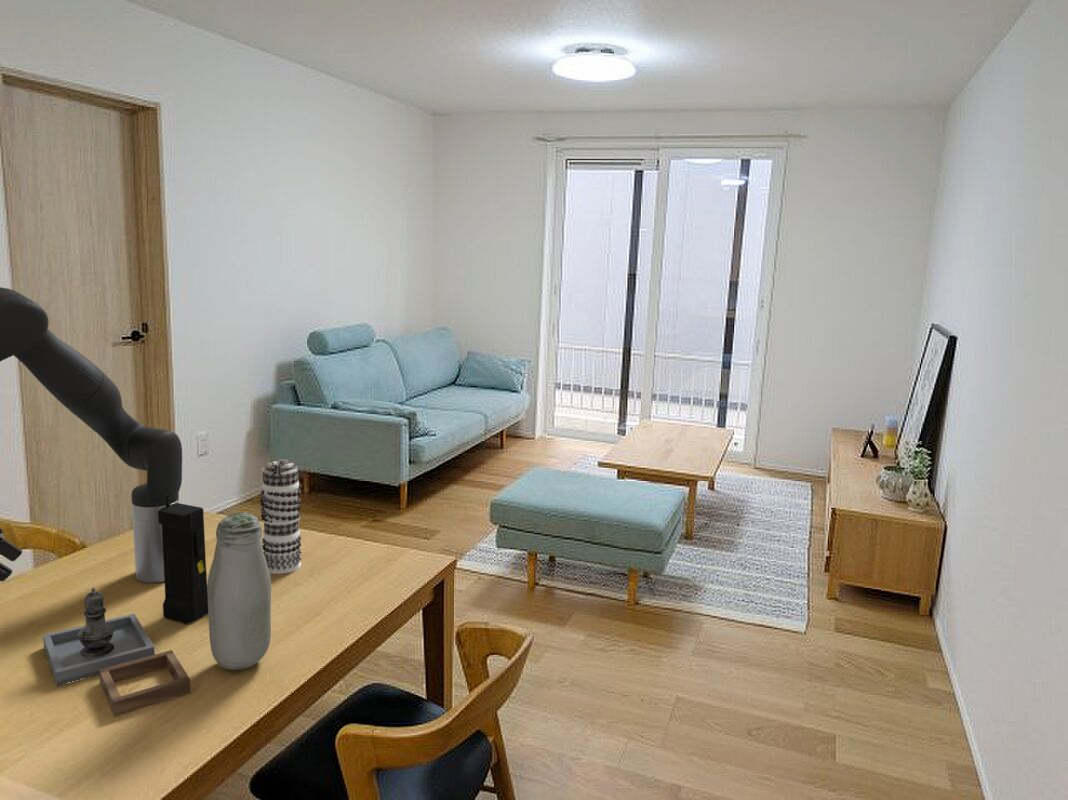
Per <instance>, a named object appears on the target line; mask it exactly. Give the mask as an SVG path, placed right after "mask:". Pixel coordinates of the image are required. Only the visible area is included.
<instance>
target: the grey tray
mask: <svg viewBox="0 0 1068 800" xmlns="http://www.w3.org/2000/svg"><path fill="white" fill-rule="evenodd" d="M105 621H106V624H110V625H112V626H114V627H115V631H114V632H113V636H112V639H111V640H110V641H109V642H110V643H112V644H113V645H114V649H113V650H112V651H111V652H110V653H108V654H106V655H103V656H100V657H94V658H87V657H83V656H82V655H81V654H80V652H81V650H82V649H83V648H84V647H85V646H83V645H82V643H81V642H80V639H79V638H78V637H77V634H78V632H79V631H80V630H82V629H83V628H85V626H86V624H83V625H81V626H80V625H79V626H75V627H71V628H68V629H67V628H66V629H63V630H58V631H54V632H50V633H46V634H43V635H42V639H43V648H45V649H44V651H46V652H45V654H47V655H46V658H47V657H48V658H47V661H48V660H49V661H48V664H49V663H50V664H49V666H51V667H50V669H52V670H51V672H53V673H52V675H53V678H54V682H55V684H56V687H60V686H59V685H61V686H63V685H62V684H64V685H67V684H66V683H68V682H71V683H73V682H72V681H75V682H77V681H76V680H79V681H81V680H80V679H82V678H83V679H82V680H85V679H84V678H86V679H89V678H88V677H90V678H93V677H96V676H95V675H97V676H99V670H100V669H103V668H107V667H111V666H114V665H118V664H122V663H126V662H129V661H133V660H137V659H140V658H144V657H148V656H151V655H155V646H154V644H153V642H152V640H151V639H150V637H149V636H148V634H147V632H146V630H145V628H144V627H143V626H142V624H141V622H140V620H139V618H138V617H137V615H136V614H135V613H131V614H126V615H123V616H117V617H114V618H109V619H105ZM92 676H93V677H92ZM68 684H69V683H68Z"/></svg>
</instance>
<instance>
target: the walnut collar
mask: <svg viewBox="0 0 1068 800" xmlns="http://www.w3.org/2000/svg"><path fill="white" fill-rule="evenodd" d="M164 669H167V670H168V672H169V674H170V675H171V677H172V679H173V680H171V681H168V682H163V683H162V684H158V685H155V686H151V687H148V688H145V689H141V690H138V691H134V692H131V693H127V694H125V695H120V692H119V691H118V688H117V686H116V684H115V682H116V683H119V682H121V681H122V680H123V681H125V680H129V679H133V678H135V677H136V678H137V677H140V676H143V675H147V674H150V672H151V673H154V672H158V671H160V670H161V671H162V670H164ZM98 677H99V684H100V687H101V686H102V687H101V688H102V691H103V693H105V694H104V696H105V698H106V700H107V703H108V705H109V708H110V710H111V712H112V713H113V717H114V718H116V717H118V716H121V714H122V715H125V714H128V712H129V713H131V712H134V711H139V710H140V709H145V708H147V707H151V706H154V705H158V704H160V703H164V702H167V701H170V700H174V699H177V698H180V696H181V697H183V696H186V695H190V694H192V685H191V684H192V683H191V682H192V681H191V678H190V676H189V674H188V673H187V672H186V670H185V668H184V667H183V665H182V664H181V662H180V661H179V659H178V657H177V655H176V654H175V653H174V650H173V649H171V650H166V651H162V652H160V653H156V654H155V655H151V656H148V657H144V658H140V659H137V660H133V661H129V662H126V663H122V664H118V665H114V666H111V667H107V668H103V669H100V670H99V675H98ZM118 681H119V682H118ZM115 716H116V717H115Z"/></svg>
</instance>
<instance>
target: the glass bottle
mask: <svg viewBox="0 0 1068 800" xmlns="http://www.w3.org/2000/svg"><path fill="white" fill-rule="evenodd" d="M215 538H216V543H215V547H214V548H215V549H214V553H213V559H212V562H211V566H210V569H209V574H208V577H207V593H208V614H207V615H208V628H209V629H208V631H209V643H210V651H211V653H212V656H213V659H214V661H215V662H216V663H217V664H218V665H220V666H221V667H223V668H224V669H227V670H230V671H239V670H244V669H247V668H250V667H253V666H254V665H256V664H257V663H259V662H260V661H261V659H263V658H264V656H265V655H266V654H267V651H268V649H269V647H270V644H271V638H272V620H271V619H272V618H271V617H272V616H271V615H272V613H271V611H272V609H271V608H272V580H271V573H269V569H268V566H267V562H266V559H265V556H264V553H263V551H264V550H263V547H262V545H263V543H262V539H263V528H262V525H261V523H260V520H259V519H258V517H257V516H256V515H254V514H252V513H250V512H243V511H242V512H236V513H232V514H229V515H227V516H224V518H222V519H221V520H220V521H219V522H218V524H217V526H216V532H215Z"/></svg>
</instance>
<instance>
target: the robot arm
mask: <svg viewBox="0 0 1068 800" xmlns="http://www.w3.org/2000/svg"><path fill="white" fill-rule="evenodd" d="M49 326H50V325H49V317H48V314H47V312H46V311H45V309H44V308H43V307H42V306H41V305H40V304H38V303H37V302H36V301H34V300H32V299H31V298H29V297H27V296H25V295H24V294H22V293H20V292H18V291H16V290H14V289H11V288H7V287H0V362H3V361H4V360H7V359H8V358H11V357H13V356H14V357H15V358H16V359H17V360H18V361H20V362H21V364H23V365H24V366H25V368H26V369H28V371H29V372H30V373H31V374H32V375H33V376H34V378H35V379H36V380H37V381H38V382H39V383H40V384H41V385H42V386H43V387H44V388H45V389H46V390H47V391H48V392H49V393H50V394H51V395H52V396H53V397H54V398H55V399H56V400H57V401H58V402H59V403H60V404H62V406H64V407H65V408H66V409H67V410H69V411H70V412H71V413H72V414H73V415H74V416H76V417H77V418H78V419H80V420H81V421H82V422H83V423H84V424H85V425H86V426H87V427H88V428H90V429H91V430H92V431H93V432H94V433H96V434H97V435H98V436H100V437H101V438H102V439H103V441H104V442H106V444H107V445H108V446H109V448H111V449H112V451H113V452H114V453H115V454H116V455H117V456H118V458H120V460H121V461H122V462H123V463H124V464H126V465H127V466H128V467H130V468H133V469H136V470H141V471H146V472H147V473H146V483H143V484H140V485H137V486H135V487H134V488H133V489H132V491H131V513H132V514H131V515H132V526H133V529H132V530H133V531H132V532H133V547H134V565H135V577H136V579H137V580H138V581H140V582H143V583H160V582H161V583H162V582H165V580H164V560H163V539H162V524H159V523H158V511H159V510H160V509H161V508H163V507H166V503H167V502H166V496H165V495H169V496H168V503H169V504H170V505H171V504H173V503H180V496H179V495H180V494H179V493H180V489H181V486H182V483H183V482H182V481H183V447H182V442H181V439H180V438H179V435H178V434H177V433H175V432H174V431H172V430H168V429H161V428H156V427H149V426H146V425H143V424H141V423H140V422H138V421H137V420H136V419H135V418H133V417H132V416H131V415H130V414H129V413H127V411H126V410H125V409H124V407H123V401H122V396H121V392H120V390H119V387H117V385H116V384H115V383H114V382H113V380H112V379H111V378H110V377H109V376H108V375H107V374H106V373H105V372H104V371H103V370H102V369H100V368H99V367H98V366H97V365H96V364H95V363H94V362H93V361H91V360H90V359H88V358H87V356H85V355H83V354H82V353H81V352H79V351H78V350H76V349H75V348H74V347H72V346H70V345H69V344H68V343H66V342H65V341H64V340H62V339H60V338H59V337H58V336H57V335H56V334H54V333H53V332H52V331H51V330H50V329H49ZM3 533H4V530H3V529H2V528H1V527H0V555H1V556H3V557H4V558H5V559H7V560H9V561H10V562H15V561H16V560H17V559H19V557H21V555H22V553H23V550H22V549H20V547H17V546H16V545H15V544H13V543H11V542H10V541H9V540H7V539H5V536H4V535H3ZM12 574H13V569H12V568H11V567H9V566H7V565H5V564H4V563H2V562H0V582H5V581H6V580H7V579H8V578H9V577H10V576H11V575H12Z"/></svg>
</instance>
